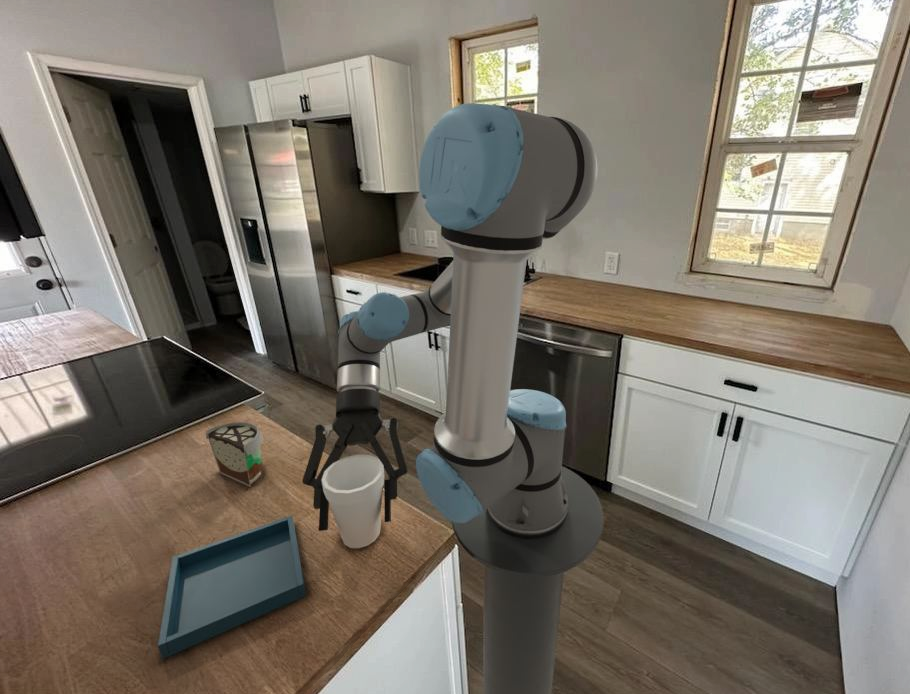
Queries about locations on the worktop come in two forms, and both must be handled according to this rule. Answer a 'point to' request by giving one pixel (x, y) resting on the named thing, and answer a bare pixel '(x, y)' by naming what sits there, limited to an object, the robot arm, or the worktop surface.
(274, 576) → the tray
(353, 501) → the foam cup
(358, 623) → the worktop surface
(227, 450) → the food container
